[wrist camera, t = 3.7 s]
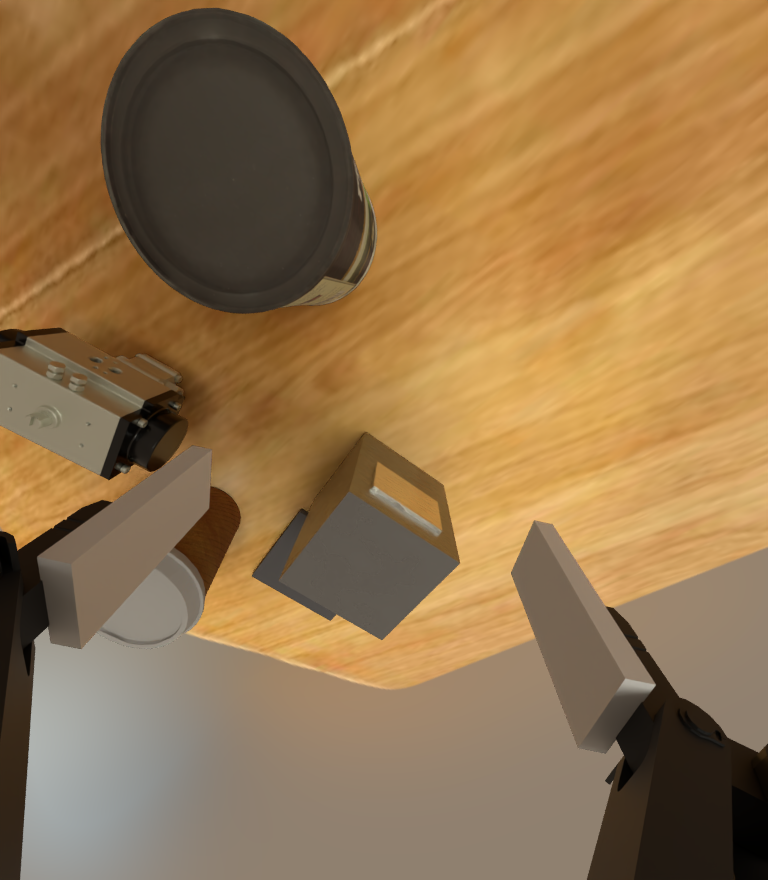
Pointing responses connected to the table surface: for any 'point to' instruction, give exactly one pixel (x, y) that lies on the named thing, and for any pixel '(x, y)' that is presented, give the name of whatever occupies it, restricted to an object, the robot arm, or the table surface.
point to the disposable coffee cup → (177, 582)
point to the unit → (374, 540)
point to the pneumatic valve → (89, 401)
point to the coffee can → (234, 166)
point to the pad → (276, 562)
